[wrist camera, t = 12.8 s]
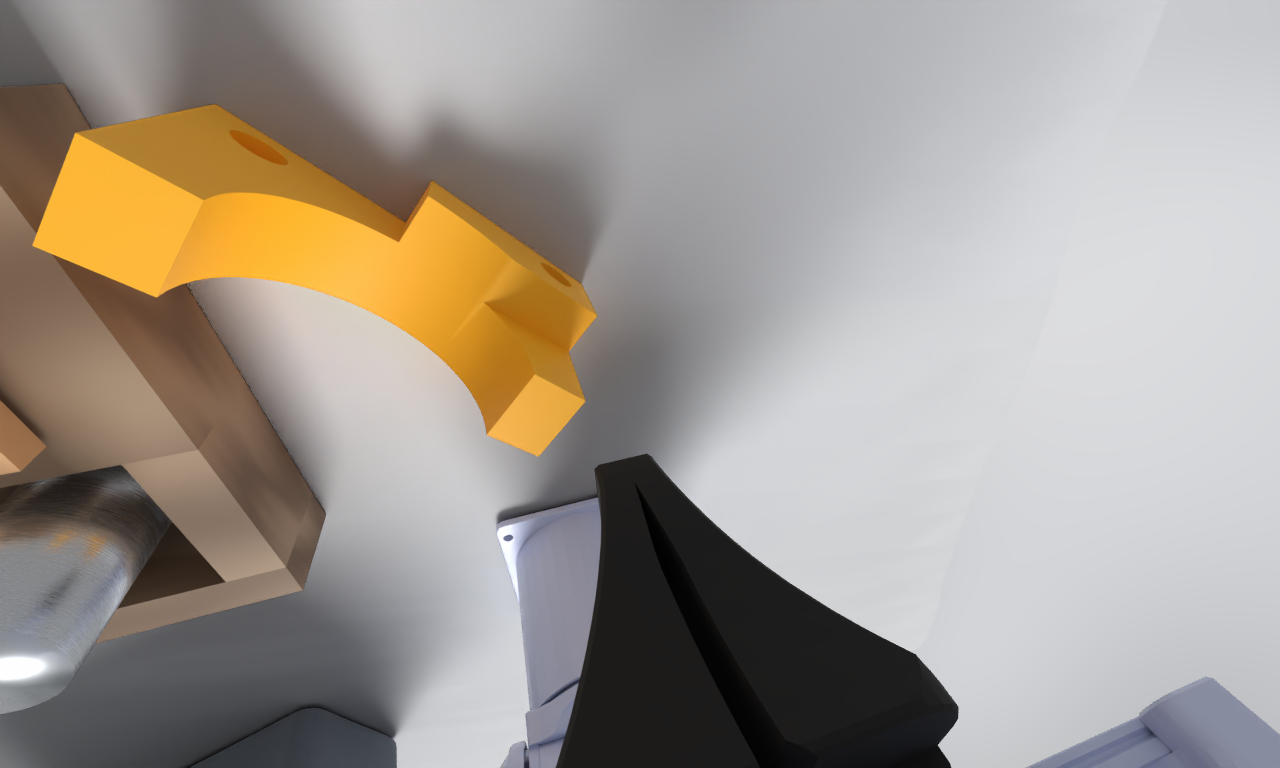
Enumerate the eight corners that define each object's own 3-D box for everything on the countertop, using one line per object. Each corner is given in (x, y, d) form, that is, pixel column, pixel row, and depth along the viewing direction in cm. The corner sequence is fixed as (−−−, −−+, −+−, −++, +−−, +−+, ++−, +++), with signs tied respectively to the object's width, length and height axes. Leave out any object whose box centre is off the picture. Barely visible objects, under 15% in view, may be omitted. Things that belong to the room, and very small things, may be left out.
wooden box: (326, 514, 22) (291, 627, 18) (64, 574, 20) (-48, 719, 16) (63, 83, 13) (-150, 99, 8) (-489, 110, 11) (-1170, 151, 6)
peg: (219, 491, 20) (106, 689, 14) (102, 511, 19) (-77, 734, 13) (169, 415, 18) (8, 609, 12) (34, 433, 17) (-222, 656, 11)
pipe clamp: (580, 282, 20) (619, 360, 15) (520, 359, 21) (538, 456, 16) (243, 48, 14) (108, 46, 8) (182, 178, 15) (32, 245, 10)
